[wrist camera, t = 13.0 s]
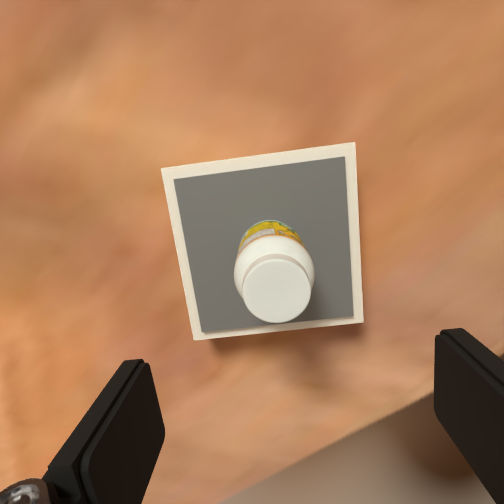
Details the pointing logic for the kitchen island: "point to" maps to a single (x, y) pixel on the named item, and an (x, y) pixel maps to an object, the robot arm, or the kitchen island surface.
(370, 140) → the kitchen island surface
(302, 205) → the plate
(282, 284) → the supplement bottle
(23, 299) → the kitchen island surface
